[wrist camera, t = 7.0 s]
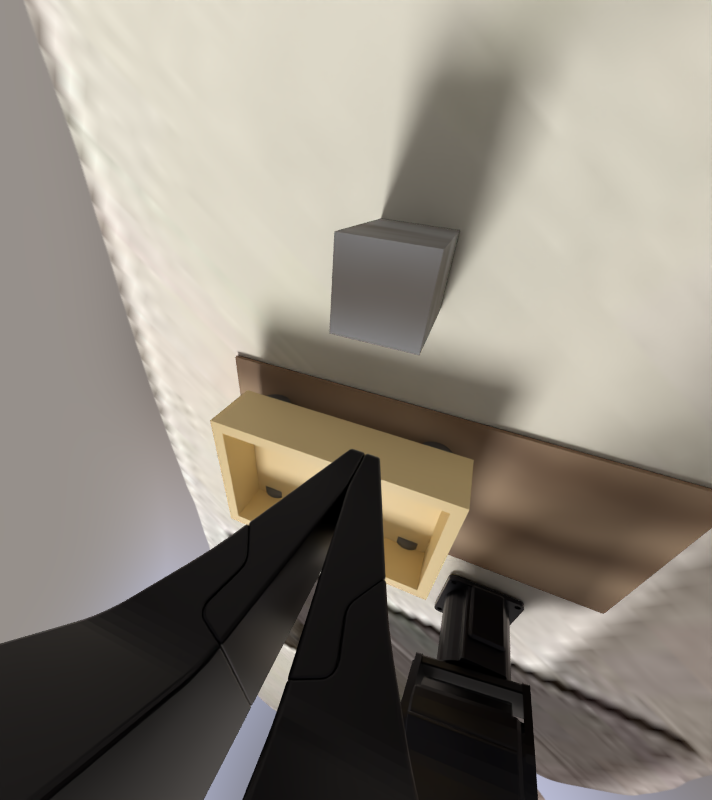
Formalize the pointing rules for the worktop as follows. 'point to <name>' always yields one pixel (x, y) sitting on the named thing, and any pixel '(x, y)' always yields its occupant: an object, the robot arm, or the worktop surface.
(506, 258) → the worktop surface
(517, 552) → the brown board
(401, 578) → the wooden tray
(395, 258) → the charcoal block
